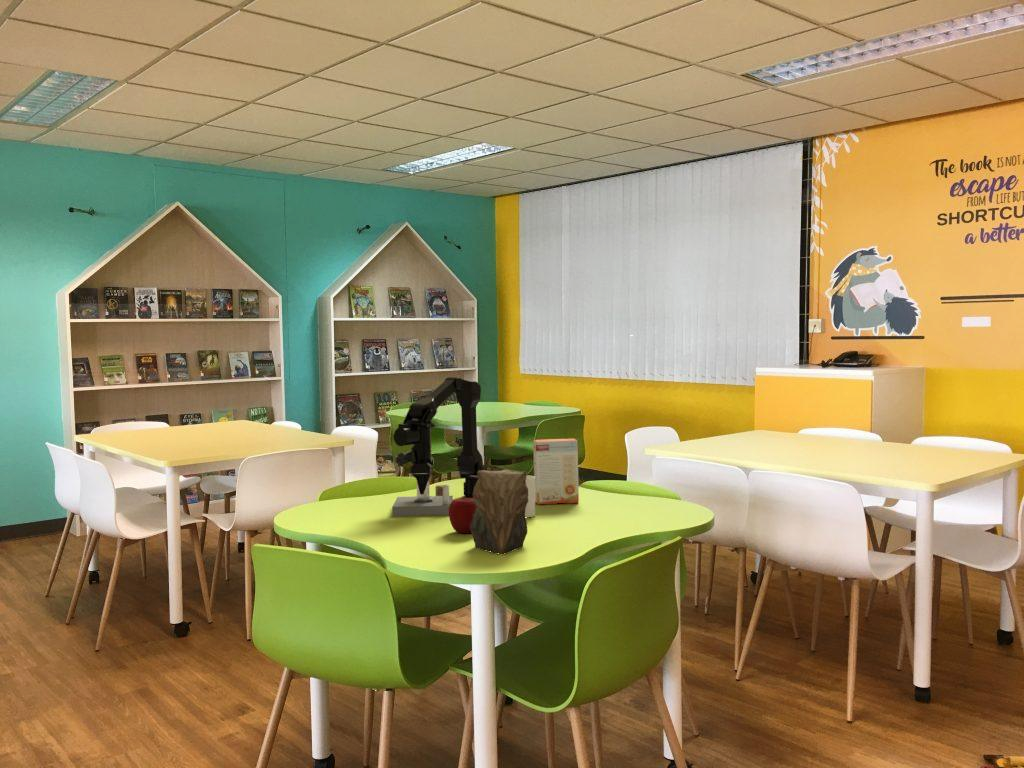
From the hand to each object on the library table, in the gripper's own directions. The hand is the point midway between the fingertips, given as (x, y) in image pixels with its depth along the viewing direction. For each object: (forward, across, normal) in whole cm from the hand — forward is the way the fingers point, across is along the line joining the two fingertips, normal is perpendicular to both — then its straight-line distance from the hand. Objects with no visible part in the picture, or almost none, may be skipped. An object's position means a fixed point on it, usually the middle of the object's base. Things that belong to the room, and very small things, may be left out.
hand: (422, 491), depth 267 cm
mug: (+6, +12, +30) cm, 33 cm away
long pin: (+6, 0, 0) cm, 6 cm away
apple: (+6, +31, +14) cm, 35 cm away
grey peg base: (+6, 0, 0) cm, 6 cm away
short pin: (+6, -15, +5) cm, 17 cm away
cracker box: (+6, -8, +43) cm, 44 cm away
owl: (+6, +50, +23) cm, 55 cm away
